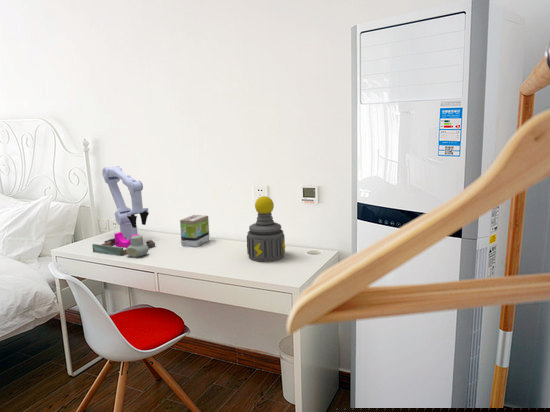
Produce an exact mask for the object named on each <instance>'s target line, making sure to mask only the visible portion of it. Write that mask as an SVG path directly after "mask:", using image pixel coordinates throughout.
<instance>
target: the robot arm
mask: <svg viewBox="0 0 550 412" xmlns="http://www.w3.org/2000/svg"><path fill="white" fill-rule="evenodd" d="M102 177H103V180H104V182H105V183H106V184H107V186H108V188H109V191H110V193H111V195H112V199H113V201H114V204H115V206H116V209H117V210H116V211H115V213H114V216H115V222H116V223H117V224H118V225H119V232H122V234H123V236H124V237H126V239H130V236H131V235H134V234H138V225H137V217H138V214H139V215H140V220H141V225H142V226H143V225H144V226H146V223H147V219H148V216H149V214H150V212H149V207H145V208H144V207H143V197H142V191H143V189H144V184H143V183H142V181H141V180H137V179H135V178H133V177H132V176H131V175H129V174H128V175H127V174H126V173H124V172H123V169H122V167H121V166H119V165H118V166H109V167H103V169H102ZM120 180H121V182H122V184H123V185H124V186H126V187H127V190H128V191H129V195H130V199H131V208H130V207H128V206H126V203H125V200H124V197H123V195H122V192H121V190H120V188H119V185H118V183H119V182H120ZM138 235H139V234H138Z"/></svg>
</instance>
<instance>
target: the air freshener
mask: <svg viewBox="0 0 550 412" xmlns="http://www.w3.org/2000/svg"><path fill="white" fill-rule="evenodd" d="M130 241H131V245H130V246H128V248H125V249H126V252H127V254H126V255H128V256H130V257H132V258H139V257H143V256H145V255H146V254H148V252H149V250H150V249H149V248H148V246H147V245H146V243H144V239H143V235H140V234H138V235H136V236H132V237H131V238H130Z"/></svg>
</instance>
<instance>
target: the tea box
mask: <svg viewBox="0 0 550 412" xmlns="http://www.w3.org/2000/svg"><path fill="white" fill-rule="evenodd" d="M179 223H180V227H179V228H180V243H181V246H182V247H192V248H196V247H199V246H201V245H202V244H204V243H207V242H208V241H210V224H209V223H210V222H209V215H203V214H200V215H199V214H192V215H190V216H188V217H185V218H182V219H180V220H179Z"/></svg>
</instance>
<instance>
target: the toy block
mask: <svg viewBox="0 0 550 412" xmlns="http://www.w3.org/2000/svg"><path fill="white" fill-rule="evenodd" d="M136 235H139V234H134V235H131V236H130V238H131V237H132V236H136ZM114 238H115V245H114V246H115V247H121V248H123V249H127V248H128V246H130V245H131V241H130V239H127V240H126V239H125V238H124V236H123V234H122V232H120V231H119V232H115V233H114Z"/></svg>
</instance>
